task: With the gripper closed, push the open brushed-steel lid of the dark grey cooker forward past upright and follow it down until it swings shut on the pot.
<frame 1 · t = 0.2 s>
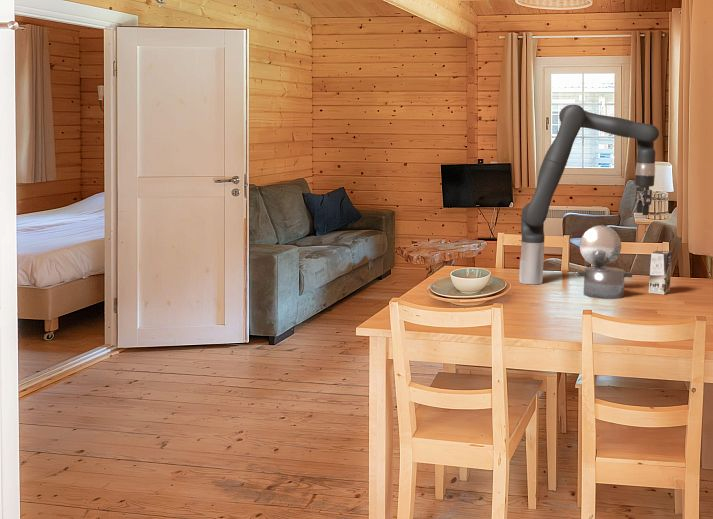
hand: (642, 213, 374), 29 cm above the table, fingers open, 8 cm apart
cooker body: (603, 295, 355), on the table
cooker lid: (599, 245, 362), point 18 cm above the table, hinge at 93.2°
coffee box: (659, 292, 362), on the table
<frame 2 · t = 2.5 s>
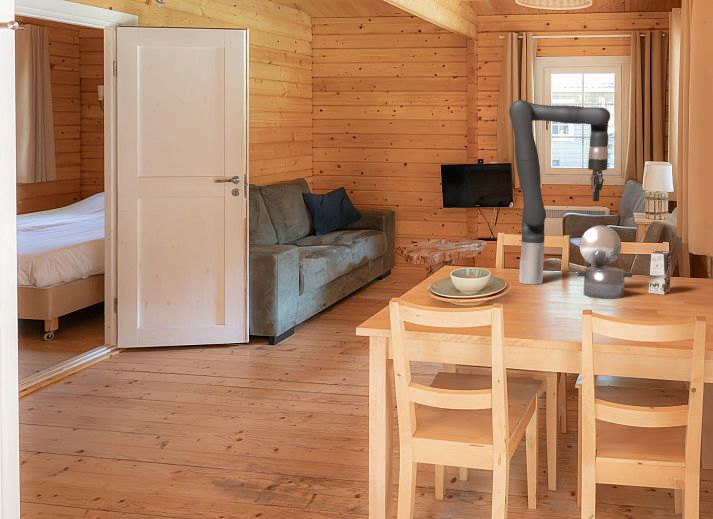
hand: (595, 201, 369), 35 cm above the table, fingers closed
nothing on the table moved.
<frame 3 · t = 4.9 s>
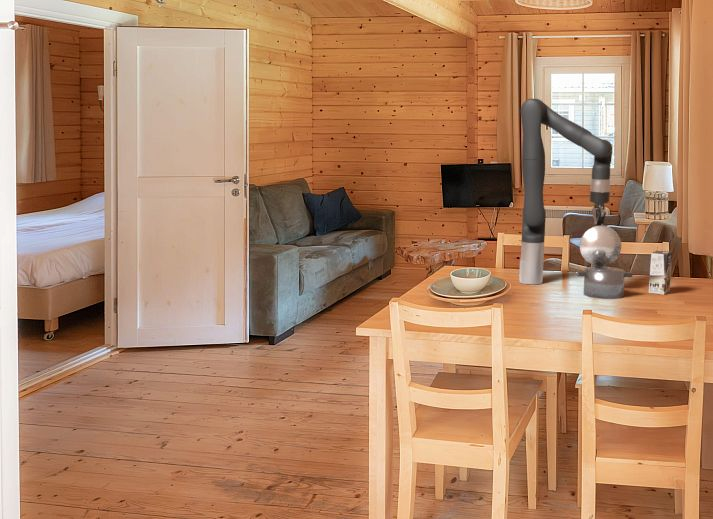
hand: (597, 233, 366), 22 cm above the table, fingers closed
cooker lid: (599, 245, 362), point 18 cm above the table, hinge at 92.5°, touching gripper
everything else where it was.
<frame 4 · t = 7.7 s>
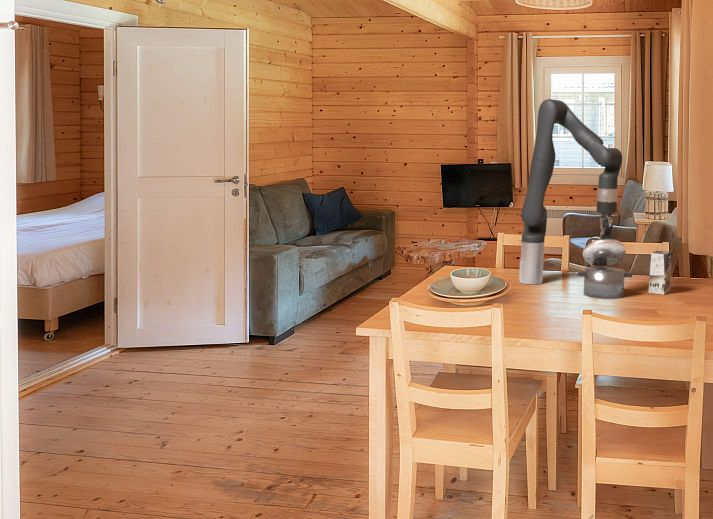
hand: (605, 244, 354), 19 cm above the table, fingers closed
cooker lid: (603, 250, 355), point 17 cm above the table, hinge at 44.3°, touching gripper
everything else where it was.
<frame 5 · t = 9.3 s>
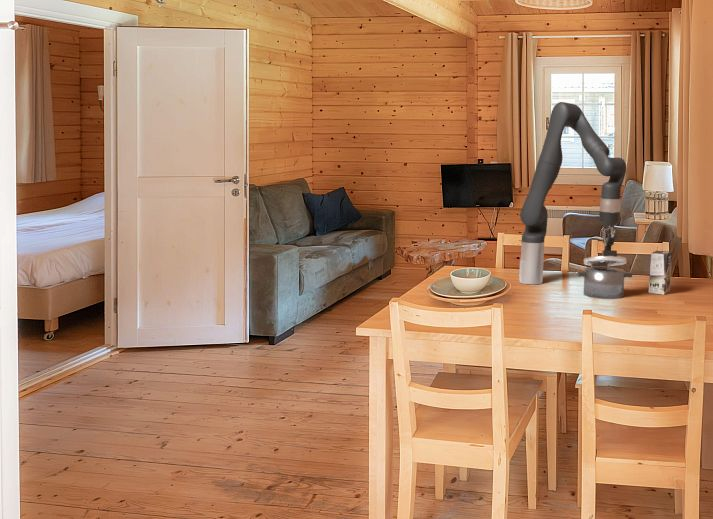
hand: (607, 255, 350), 16 cm above the table, fingers closed
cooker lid: (604, 258, 353), point 14 cm above the table, hinge at 17.9°
everything else where it was.
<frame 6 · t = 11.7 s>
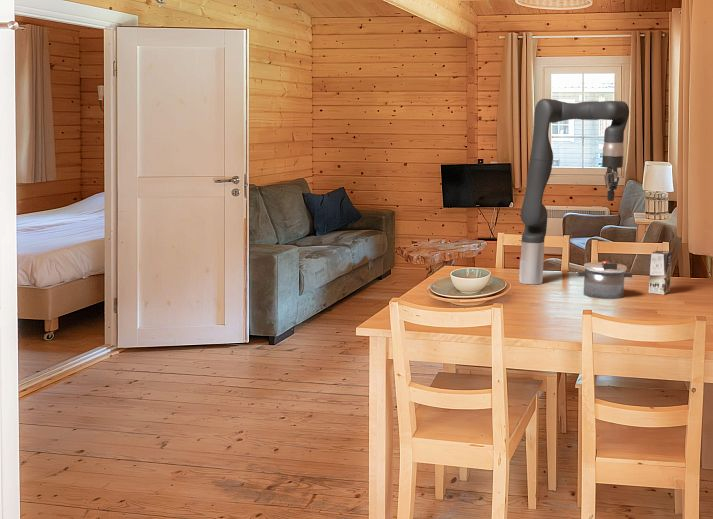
hand: (610, 200, 346), 37 cm above the table, fingers closed
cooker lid: (605, 265, 353), point 12 cm above the table, hinge at -0.1°
everything else where it was.
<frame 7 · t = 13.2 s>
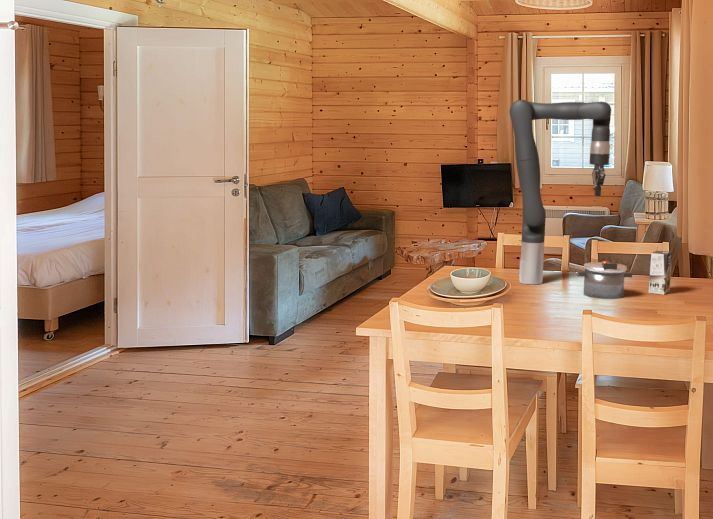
hand: (597, 195, 367), 37 cm above the table, fingers closed
nothing on the table moved.
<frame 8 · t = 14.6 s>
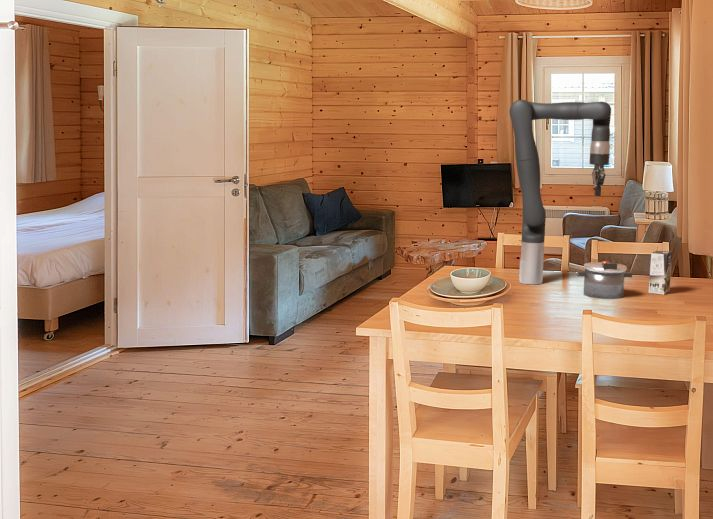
hand: (597, 195, 367), 37 cm above the table, fingers closed
nothing on the table moved.
at the end: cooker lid at +0° (first picture: +93°); coffee box moved 0.2 cm from its start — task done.
